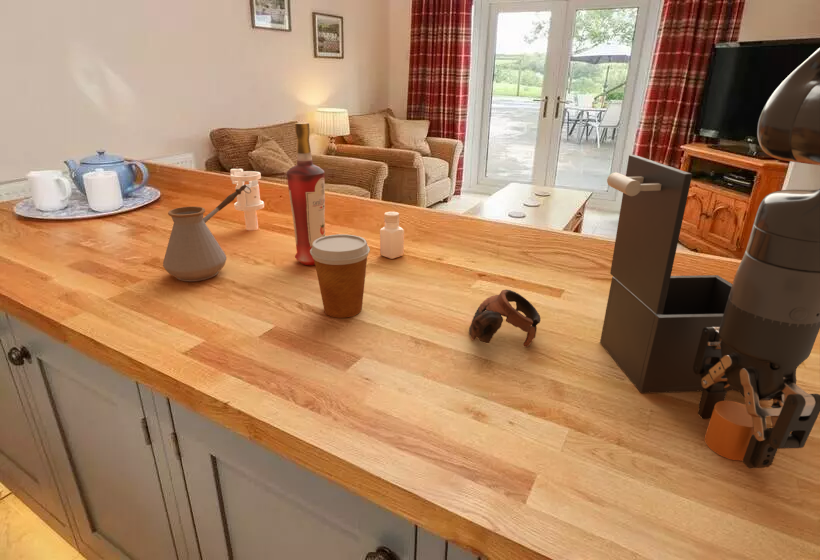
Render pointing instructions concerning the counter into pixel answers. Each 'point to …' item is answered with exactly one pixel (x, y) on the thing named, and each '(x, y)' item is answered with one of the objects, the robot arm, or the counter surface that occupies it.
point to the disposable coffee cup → (341, 272)
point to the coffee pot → (194, 243)
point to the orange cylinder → (729, 430)
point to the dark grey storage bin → (663, 332)
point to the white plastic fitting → (248, 196)
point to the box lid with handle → (648, 227)
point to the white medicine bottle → (391, 236)
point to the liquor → (306, 197)
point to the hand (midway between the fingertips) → (729, 439)
